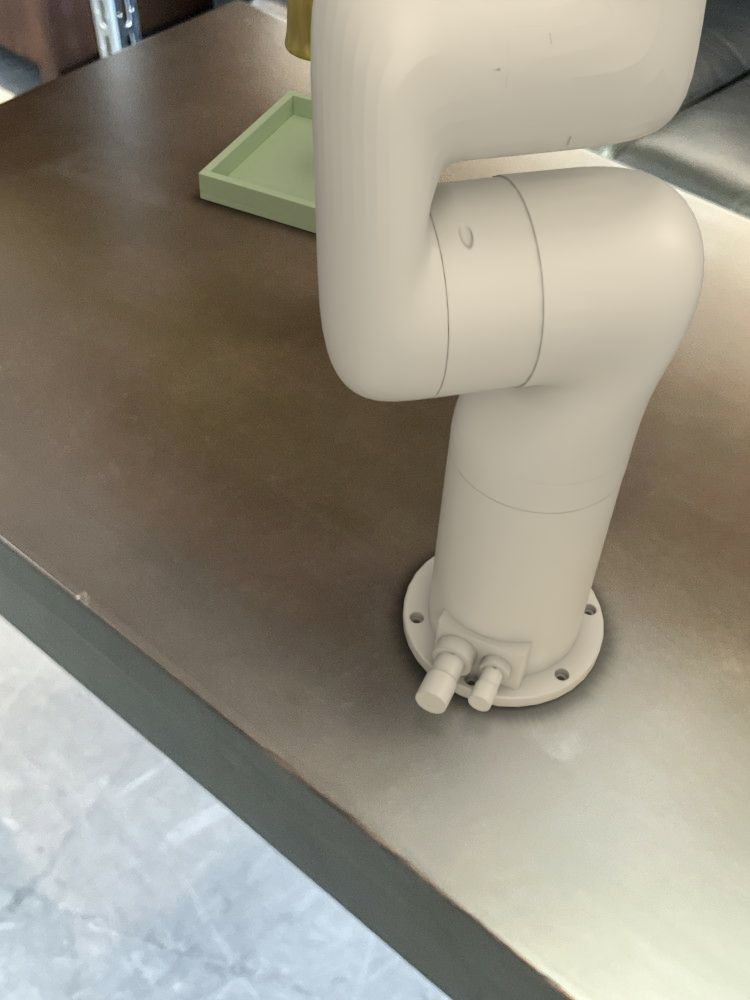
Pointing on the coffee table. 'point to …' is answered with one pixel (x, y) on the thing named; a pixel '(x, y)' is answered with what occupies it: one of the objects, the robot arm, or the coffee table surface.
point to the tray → (269, 166)
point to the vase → (299, 28)
